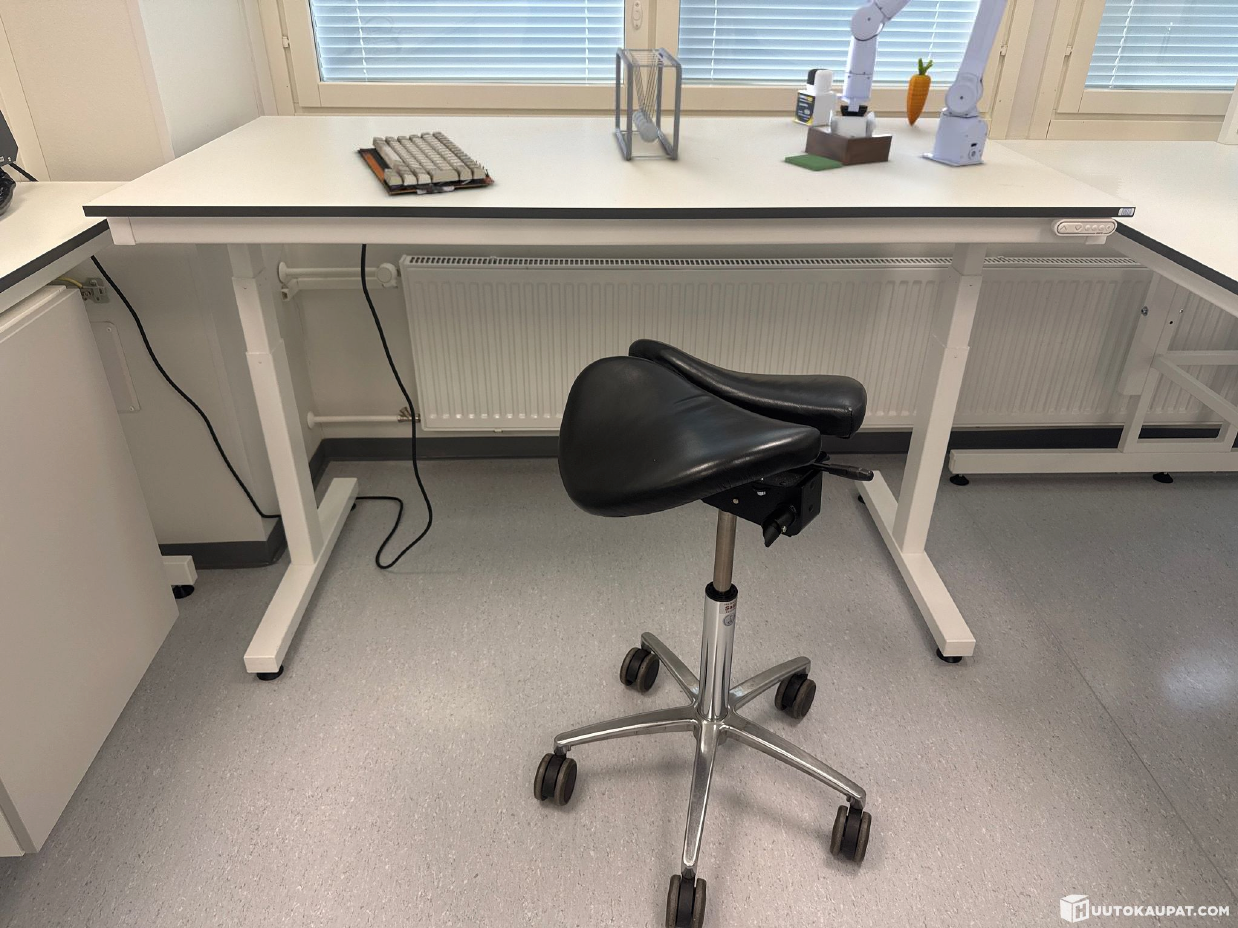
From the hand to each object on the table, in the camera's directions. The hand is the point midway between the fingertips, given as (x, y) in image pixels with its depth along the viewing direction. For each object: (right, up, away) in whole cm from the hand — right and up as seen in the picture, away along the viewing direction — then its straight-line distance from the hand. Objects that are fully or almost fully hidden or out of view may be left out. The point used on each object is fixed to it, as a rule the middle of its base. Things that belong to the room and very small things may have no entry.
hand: (848, 141), depth 177 cm
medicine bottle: (-2, +14, +25) cm, 29 cm away
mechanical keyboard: (-87, -13, -20) cm, 91 cm away
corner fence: (-2, -5, -5) cm, 7 cm away
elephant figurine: (-2, -5, -5) cm, 7 cm away
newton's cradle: (-44, -1, 0) cm, 44 cm away
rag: (-11, -9, -12) cm, 19 cm away
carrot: (+22, +13, +24) cm, 35 cm away
